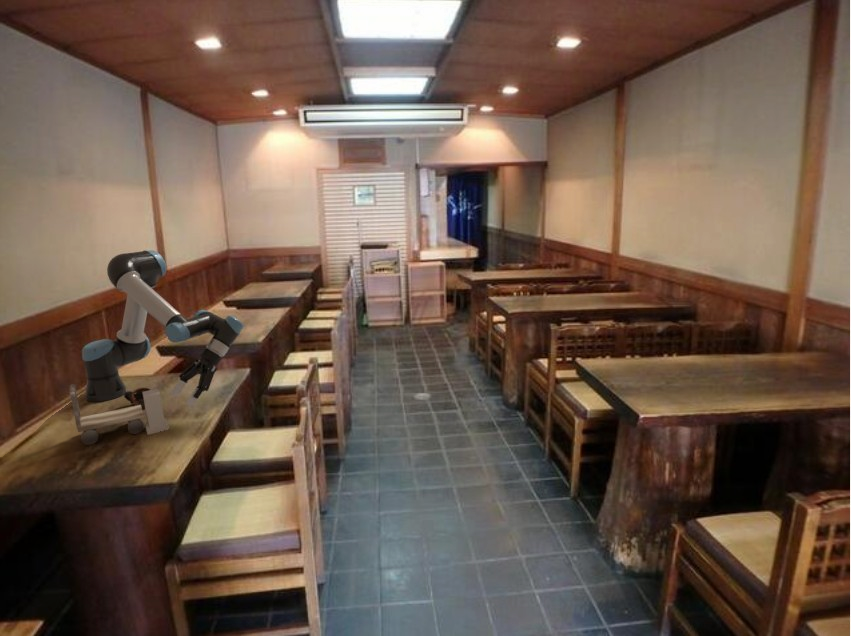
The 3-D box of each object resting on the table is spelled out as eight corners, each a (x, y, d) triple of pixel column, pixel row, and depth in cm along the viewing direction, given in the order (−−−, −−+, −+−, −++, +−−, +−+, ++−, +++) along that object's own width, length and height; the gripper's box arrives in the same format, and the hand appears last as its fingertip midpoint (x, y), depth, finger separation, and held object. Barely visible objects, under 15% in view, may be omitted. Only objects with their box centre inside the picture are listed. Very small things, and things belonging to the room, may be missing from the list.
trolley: (79, 433, 188) (69, 383, 183) (143, 419, 198) (134, 371, 194) (79, 447, 177) (68, 394, 173) (146, 431, 188) (137, 380, 183)
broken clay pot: (159, 400, 219) (158, 387, 214) (150, 417, 211) (148, 404, 206) (129, 394, 217) (127, 381, 212) (118, 412, 210) (116, 399, 205)
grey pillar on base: (145, 427, 191) (139, 392, 188) (166, 422, 195) (160, 387, 192) (147, 434, 185) (141, 398, 182) (169, 429, 189) (163, 393, 186)
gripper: (237, 363, 197) (203, 413, 190) (206, 351, 213) (174, 397, 206) (222, 353, 192) (186, 404, 185) (192, 342, 208) (158, 388, 201)
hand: (180, 400), depth 195 cm, fingers open, 13 cm apart
